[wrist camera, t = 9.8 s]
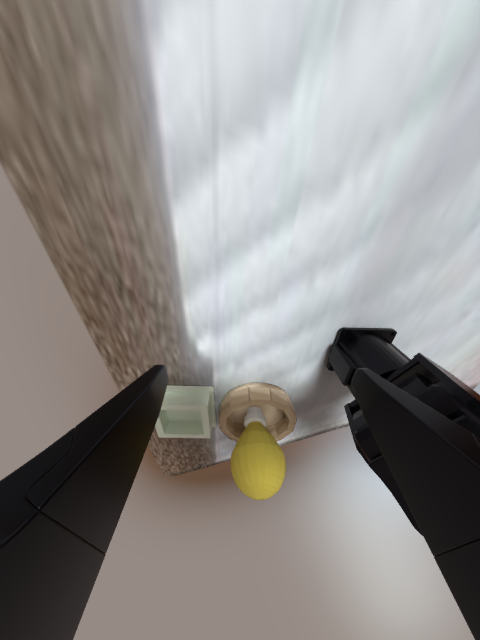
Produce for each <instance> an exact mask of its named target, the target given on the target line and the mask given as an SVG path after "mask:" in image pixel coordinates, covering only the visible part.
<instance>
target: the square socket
mask: <svg viewBox="0 0 480 640" xmlns="http://www.w3.org/2000/svg"><path fill="white" fill-rule="evenodd" d="M212 427H216V414H215V399H214V387H213V386H167V388H166V392H165V396H164V399H163V403H162V407H161V410H160V414H159V417H158V419H157V422H156V425H155V428H156V430H157V433H158V436H159V438H211V432H212Z"/></svg>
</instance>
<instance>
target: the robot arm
mask: <svg viewBox="0 0 480 640" xmlns="http://www.w3.org/2000/svg"><path fill="white" fill-rule="evenodd" d="M344 331H345V332H344ZM343 332H344V333H343ZM396 334H397V332H396V331H395V330H394V329H385V328H341V329H340V330H339V333H338V336H337V338H336V341H335V344H334V345H333V348H332V351H331V353H330V356H329V359H328V360H329V361H328V364H327V368H328V370H330V371H335V372H336V374H337V375H338V377H339V379H340V380H341V382H342V384H343V385H344V386H348V388H349V389H350V391H351V393H352V394H353V396H354V397H355V400H354V401H352V402H351V403H348V404H346V405H345V406H344V407H345V411H346V414H347V418H348V421H349V425H350V428H351V432H352V435H353V439H354V442H355V445H356V448H357V450H358V451H359V453H360V454H361V455H362V457H363V458H364V460H365V461H366V463H367V464H368V465H369V467H370V468H371V469H372V470H373V471H374V472H375V473H376V474H377V475H378V477H379V478H381V480H382V481H383V483H384V484H385V485H386V486H387V488H388V489H389V490H390V491H391V493H392V494H393V496H394V497H395V499H396V500H397V502H398V503H399V505H400V506H401V508H402V509H403V511H404V513H405V514H406V516H407V517H408V519H409V520H410V522H411V523H412V525H413V526H414V528H415V529H416V530H417V531H418V532H419V533H420V534H421V535H423V536H424V538H425V540H426V542H427V544H428V546H429V548H430V550H431V552H432V554H433V556H434V558H435V560H436V562H437V564H438V566H439V568H440V570H441V572H442V574H443V576H444V578H445V580H446V582H447V584H448V586H449V588H450V590H451V592H452V594H453V596H454V598H455V600H456V602H457V604H458V606H459V608H460V610H461V612H462V614H463V616H464V618H465V620H466V622H467V625H468V626H469V628H470V630H471V633H472V635H473V637H474V639H475V640H480V395H479V394H478V393H476V392H475V391H474V390H472V389H471V388H470V387H468V386H467V385H466V384H464V383H463V382H462V381H460V380H459V379H458V378H456V377H455V376H454V375H452V374H451V373H449V372H448V371H447V370H445V369H443V368H442V367H440V366H439V365H437V364H436V363H434V362H433V361H431V360H430V359H428V358H427V357H425V356H424V355H422V354H421V353H418V354H416V355H415V356H414V358H413V359H412V360H411V359H409V358H408V357H407V356H406V355H405V354H404V353H402V352H401V351H400V350H399V349H398V348H397V347H395V346H394V345H393V344H392V341H393V339H394V338H395V336H396ZM167 384H168V374H167V370H166V366H165V365H155V366H153V367H152V368H151V369H149V370H148V371H147V372H145V373H144V374H143V375H142V376H140V377H139V378H138V379H136V380H135V381H134V382H133V383H131V384H130V385H129V386H127V387H126V388H125V389H123V390H122V391H121V392H120V393H118V394H117V395H116V396H114V398H112V399H110V400H109V401H108V402H107V403H105V404H104V405H103V406H101V407H100V408H99V409H97V411H95V412H94V413H92V414H91V415H90V416H89V417H87V418H86V419H85V420H83V421H82V422H81V423H80V424H78V425H77V426H76V427H75V428H73V429H71V430H70V431H69V432H68V433H66V434H65V435H64V436H62V437H61V438H60V439H58V440H57V441H56V442H54V443H53V444H52V445H50V446H49V447H48V448H46V449H45V450H44V451H42V452H41V453H39V454H38V455H37V456H35V457H34V458H32V459H31V460H30V461H28V462H27V463H25V464H24V465H23V466H21V467H20V468H19V469H17V470H15V471H14V472H13V473H11V474H10V475H8V476H7V477H5V478H4V479H2V480H1V481H0V640H73V638H74V635H75V633H76V630H77V628H78V625H79V622H80V620H81V617H82V615H83V612H84V609H85V607H86V604H87V602H88V599H89V596H90V594H91V591H92V589H93V586H94V583H95V581H96V578H97V576H98V573H99V570H100V568H101V565H102V563H103V560H104V557H105V553H106V551H107V549H108V547H109V544H110V541H111V539H112V536H113V534H114V531H115V528H116V526H117V523H118V520H119V518H120V515H121V513H122V510H123V508H124V505H125V503H126V500H127V497H128V495H129V492H130V490H131V487H132V484H133V482H134V479H135V477H136V474H137V471H138V469H139V466H140V464H141V461H142V458H143V456H144V453H145V451H146V448H147V445H148V443H149V440H150V438H151V435H152V432H153V430H154V427H155V425H156V422H157V419H158V417H159V414H160V410H161V407H162V403H163V399H164V396H165V392H166V388H167Z"/></svg>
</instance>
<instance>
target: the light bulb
mask: <svg viewBox="0 0 480 640" xmlns="http://www.w3.org/2000/svg"><path fill="white" fill-rule="evenodd" d="M244 426H245V428H246V429H245V430H244V432H243V433H242V435H241V436H240V438H239V440H238V442H237V444H236V446H235V448H234V450H233V452H232V455H231V471H232V475H233V479H234V480H235V483H236V484H237V486H238V487H239V488H240V490H241V491H242V492H243V493H244V494H245V495H247V496H248V497H250V498H252V499H255V500H264V499H267V498H270V497H272V496H273V495H274V494H275V493H276V492H277V491H278V490H279V489H280V487H281V485H282V483H283V480H284V477H285V472H286V463H285V457H284V454H283V451H282V450H281V448H280V447H279V445H278V443H277V442H276V440H275V439H274V437H273V436H272V435H271V433H270V432H269V431H268V430H267V429H266V428H265V427H266V418H265V416H264V415H263V414H262V410H261V409H260V408H259V407H251V408H249V409H248V410H247V415H246V416H245V417H244Z"/></svg>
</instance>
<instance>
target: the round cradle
mask: <svg viewBox="0 0 480 640" xmlns="http://www.w3.org/2000/svg"><path fill="white" fill-rule="evenodd" d="M251 407H259V408H260V409H261V410H262V414H263V415H264V416H265V418H266V427H265V428H266V429H267V430H268V431H269V432H270V433H271V435H272V436H273V437H274V439H275V440H276V441H279V440H282V439H283V438H284V437H286V436H287V435H288V434H290V433H291V432H292V431H293V430H294V427H295V424H296V421H297V418H296V414H295V410H294V407H293V405H292V403H291V400H290V398H289V396H288V394H287V393H286V392H285V391H284V390H282V389H281V388H279V387H277V386H274V385H271V384H267V383H248V384H244V385H240V386H238V387H235V388H234V389H232V390H230V391H229V392H228V393H227V394H226V395H225V396H224V398H223V400H222V403H221V406H220V415H219V424H220V430H221V431H222V432H223V433H224V434H225V435H226V436H227V437H228V438H229V439H232V440H235V441H238V440H239V438H240V436H241V435H242V433H243V432H244V430H245V429H246V428H245V426H244V417H245V416H246V415H247V410H248V409H249V408H251Z"/></svg>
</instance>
